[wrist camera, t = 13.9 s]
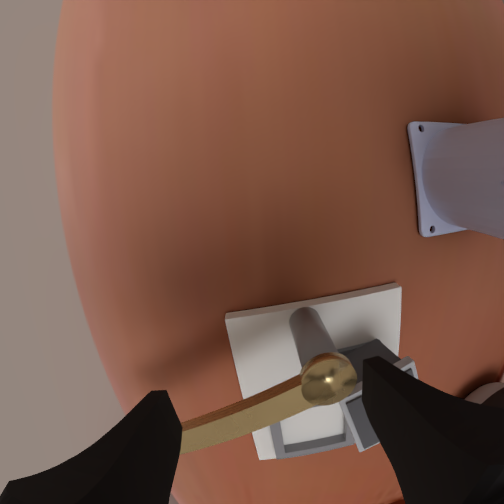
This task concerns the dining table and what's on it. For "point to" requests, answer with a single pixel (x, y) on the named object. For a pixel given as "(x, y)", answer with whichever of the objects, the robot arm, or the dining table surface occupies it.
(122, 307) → the dining table surface
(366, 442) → the plug
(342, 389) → the lever handle
